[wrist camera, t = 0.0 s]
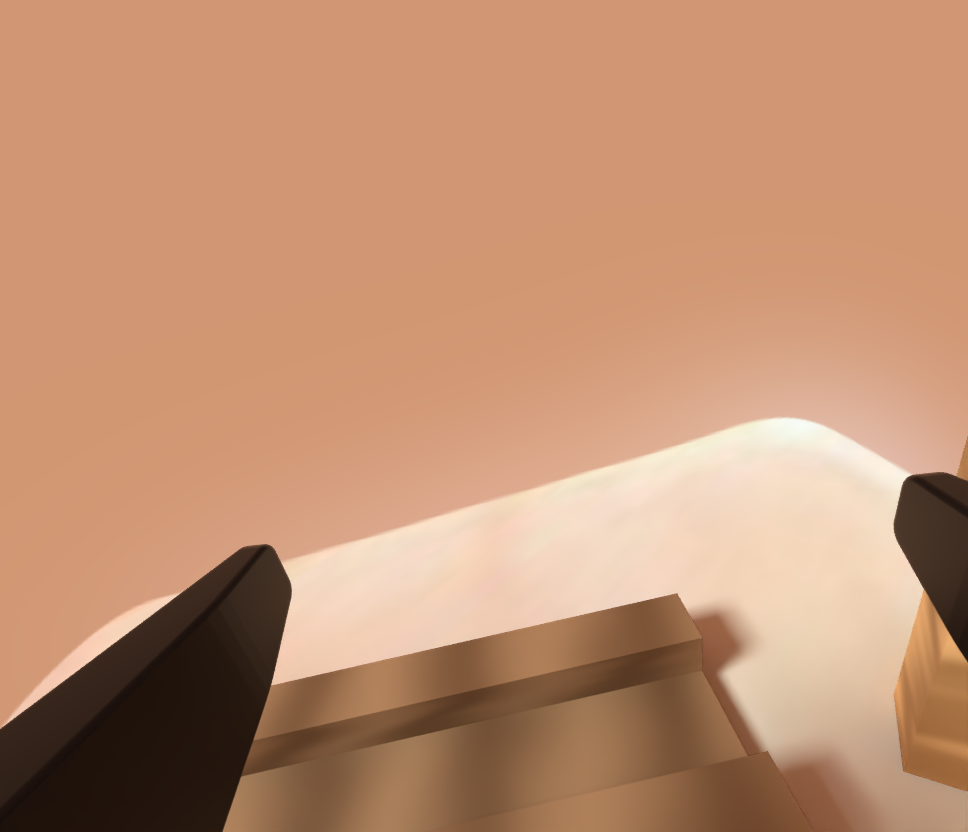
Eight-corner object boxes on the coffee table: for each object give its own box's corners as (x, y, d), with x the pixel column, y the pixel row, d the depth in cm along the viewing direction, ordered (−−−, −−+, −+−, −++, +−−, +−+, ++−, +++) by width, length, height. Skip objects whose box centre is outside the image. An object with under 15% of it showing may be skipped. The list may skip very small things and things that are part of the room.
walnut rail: (160, 1035, 16) (109, 1000, 15) (242, 739, 24) (214, 698, 23) (804, 882, 17) (814, 833, 15) (677, 640, 25) (676, 593, 23)
